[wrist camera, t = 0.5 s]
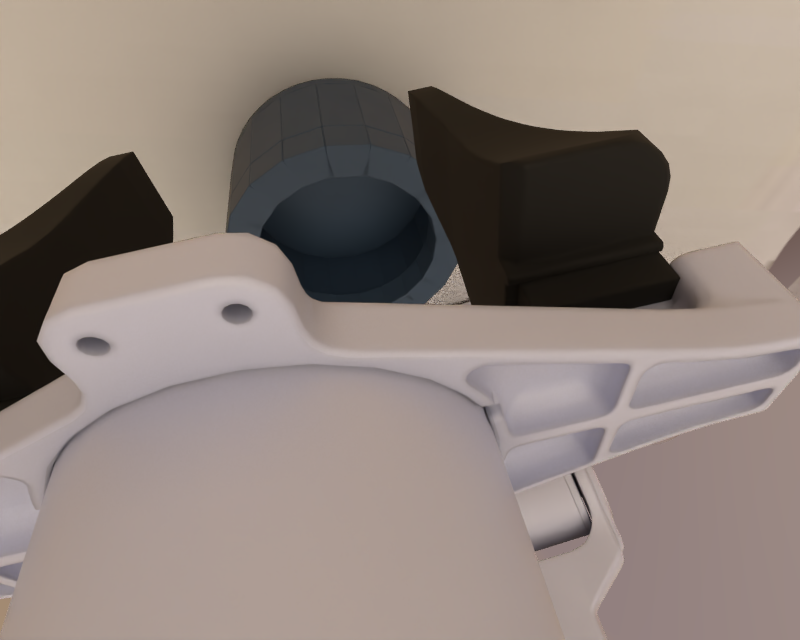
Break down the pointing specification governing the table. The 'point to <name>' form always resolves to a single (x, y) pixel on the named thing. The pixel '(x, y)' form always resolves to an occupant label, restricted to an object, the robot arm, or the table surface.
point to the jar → (340, 194)
